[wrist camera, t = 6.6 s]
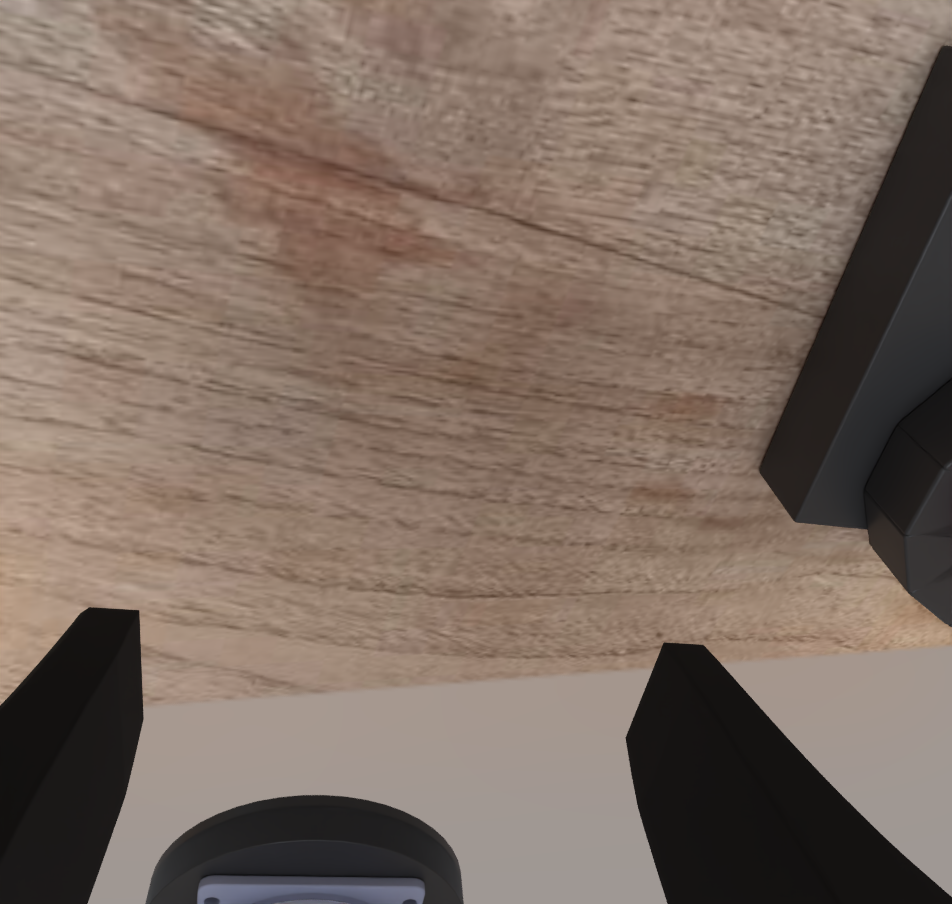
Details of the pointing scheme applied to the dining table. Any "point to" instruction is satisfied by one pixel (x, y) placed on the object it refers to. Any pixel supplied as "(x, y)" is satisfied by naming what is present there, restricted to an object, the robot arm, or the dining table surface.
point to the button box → (886, 374)
